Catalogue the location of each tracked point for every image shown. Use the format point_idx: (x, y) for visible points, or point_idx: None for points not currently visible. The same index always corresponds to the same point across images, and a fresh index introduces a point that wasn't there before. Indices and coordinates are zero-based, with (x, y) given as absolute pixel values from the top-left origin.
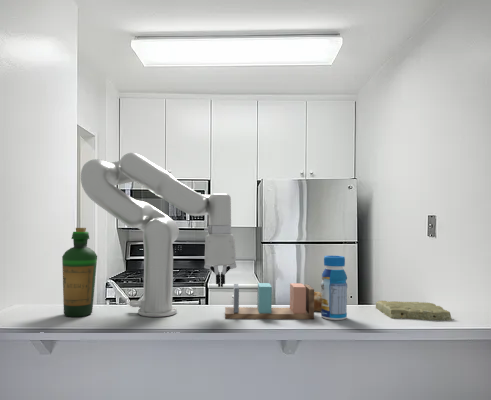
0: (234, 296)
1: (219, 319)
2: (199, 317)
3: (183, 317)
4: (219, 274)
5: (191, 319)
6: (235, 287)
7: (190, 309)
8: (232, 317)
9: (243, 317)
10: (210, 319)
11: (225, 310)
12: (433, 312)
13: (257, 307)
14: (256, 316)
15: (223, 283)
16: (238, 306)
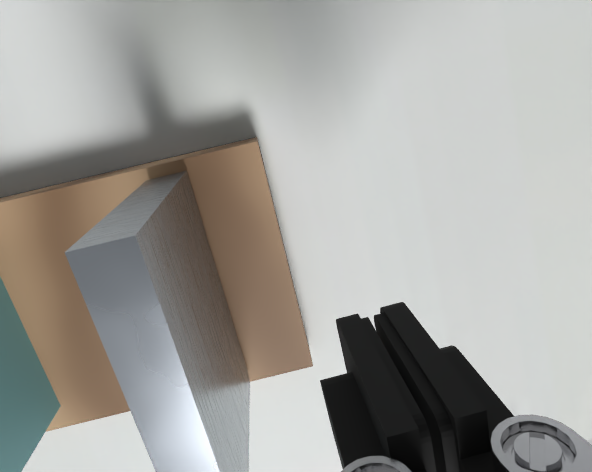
0: (155, 203)
1: (293, 95)
2: (458, 122)
3: (577, 90)
4: (462, 459)
5: (508, 37)
6: (141, 308)
7: (559, 346)
8: (199, 152)
9: (112, 172)
10: (363, 76)
11: (284, 259)
12: None
13: (54, 402)
14: (3, 199)
15: (342, 375)
16: (135, 191)
